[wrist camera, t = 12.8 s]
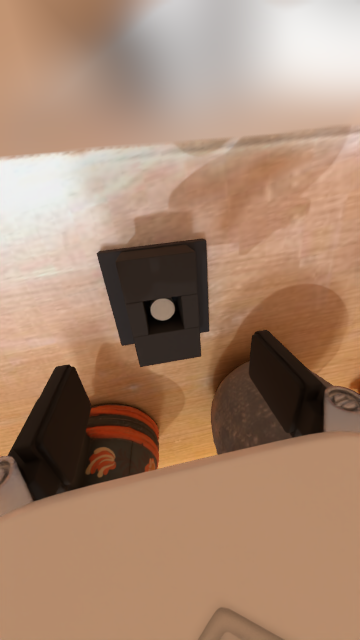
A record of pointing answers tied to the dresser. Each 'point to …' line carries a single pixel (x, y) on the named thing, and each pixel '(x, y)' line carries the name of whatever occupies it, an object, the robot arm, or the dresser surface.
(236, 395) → the grey bucket
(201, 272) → the base pad
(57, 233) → the dresser surface
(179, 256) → the black block with hole
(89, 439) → the tankard
